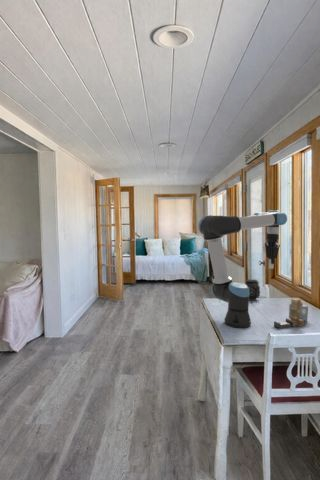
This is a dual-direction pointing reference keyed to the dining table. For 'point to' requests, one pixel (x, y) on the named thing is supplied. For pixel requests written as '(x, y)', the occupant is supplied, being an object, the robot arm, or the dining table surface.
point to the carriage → (295, 313)
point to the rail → (285, 324)
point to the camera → (253, 289)
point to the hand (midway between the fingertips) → (270, 268)
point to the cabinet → (301, 311)
